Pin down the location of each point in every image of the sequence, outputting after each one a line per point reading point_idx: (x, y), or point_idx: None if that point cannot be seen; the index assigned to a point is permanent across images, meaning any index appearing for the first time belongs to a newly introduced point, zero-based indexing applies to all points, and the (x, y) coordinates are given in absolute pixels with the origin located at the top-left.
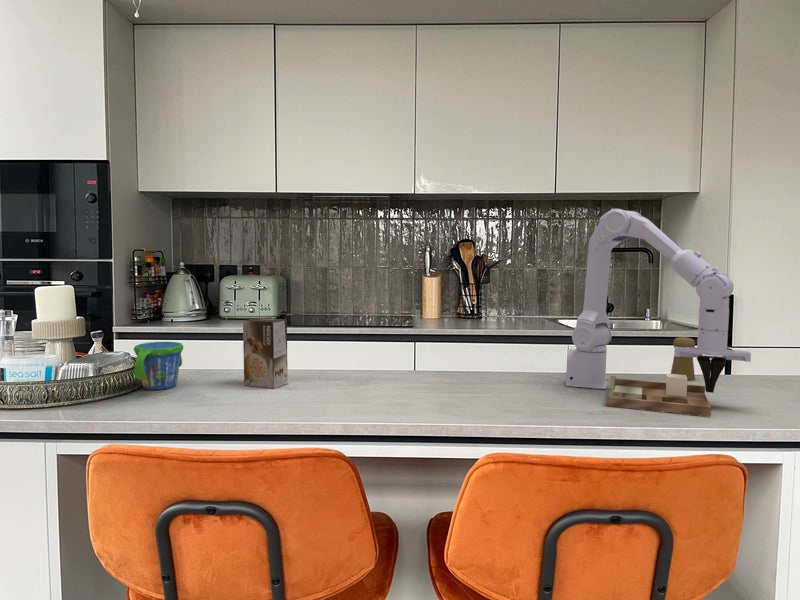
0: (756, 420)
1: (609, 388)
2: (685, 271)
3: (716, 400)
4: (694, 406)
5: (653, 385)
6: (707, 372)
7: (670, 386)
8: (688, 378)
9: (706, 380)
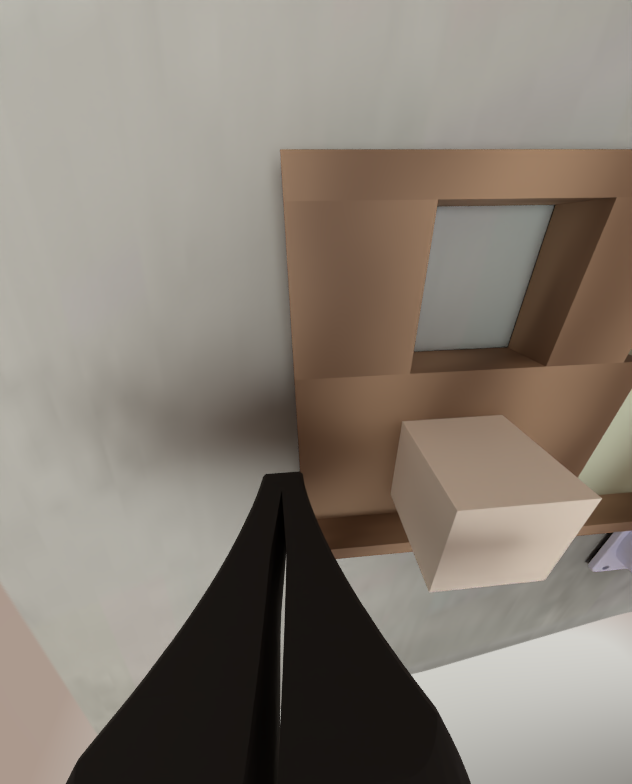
0: (8, 225)
1: None
2: None
3: None
4: (402, 152)
5: None
6: (314, 602)
7: (519, 448)
8: None
9: (311, 529)
